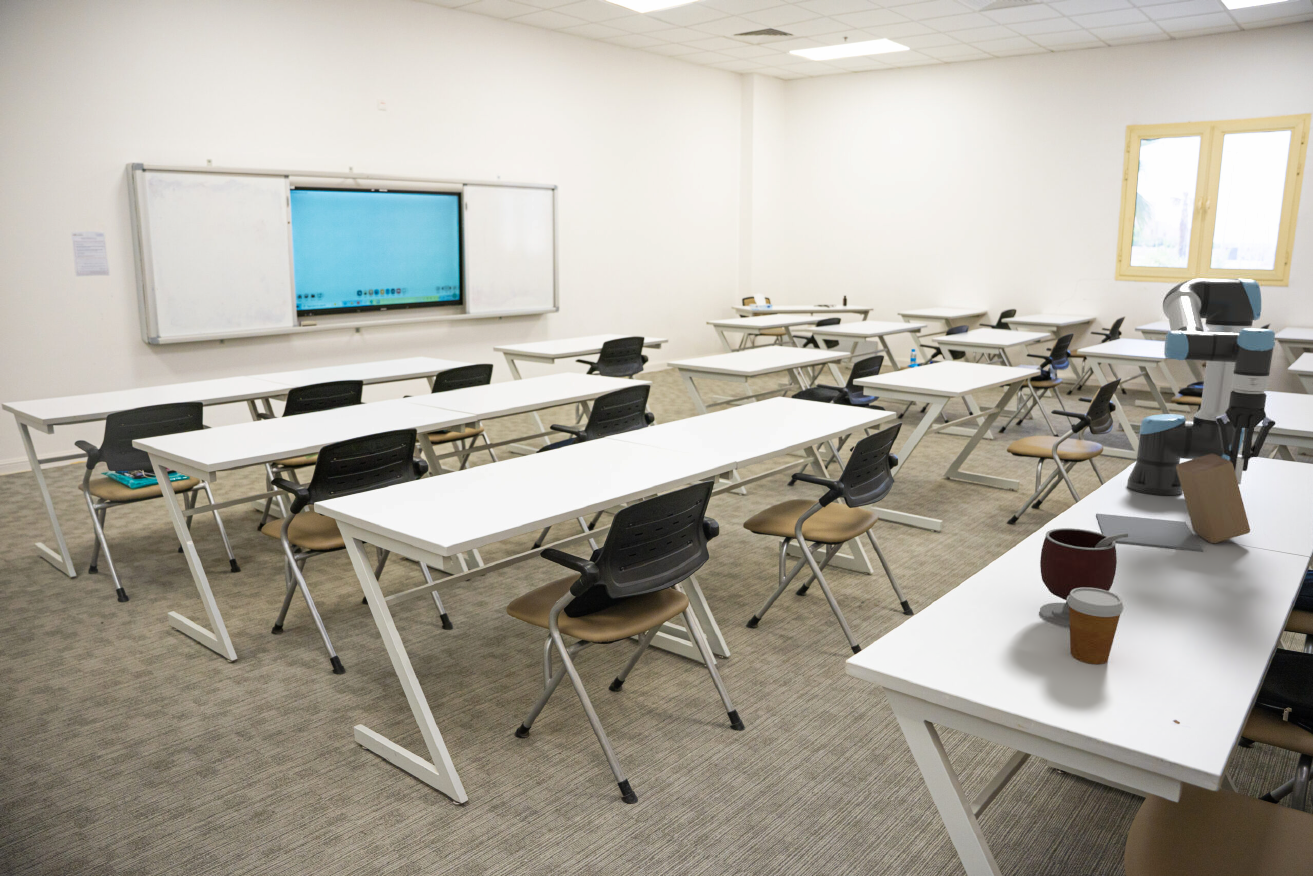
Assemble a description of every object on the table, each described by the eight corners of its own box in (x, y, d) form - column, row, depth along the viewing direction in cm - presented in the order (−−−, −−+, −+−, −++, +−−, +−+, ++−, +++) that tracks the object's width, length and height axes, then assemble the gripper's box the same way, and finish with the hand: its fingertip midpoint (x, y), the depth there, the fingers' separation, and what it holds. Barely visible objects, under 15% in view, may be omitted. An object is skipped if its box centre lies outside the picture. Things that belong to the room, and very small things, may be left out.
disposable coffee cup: (1051, 646, 169) (1057, 587, 167) (1099, 644, 170) (1105, 585, 167) (1078, 669, 160) (1085, 607, 157) (1129, 667, 161) (1136, 605, 158)
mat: (1096, 515, 250) (1096, 513, 250) (1185, 523, 242) (1185, 521, 242) (1104, 541, 228) (1105, 539, 228) (1203, 551, 221) (1203, 549, 220)
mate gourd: (1025, 618, 182) (1033, 525, 178) (1049, 598, 192) (1058, 510, 188) (1105, 640, 172) (1116, 542, 167) (1127, 618, 182) (1138, 525, 177)
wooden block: (1232, 521, 233) (1213, 451, 230) (1253, 533, 223) (1233, 460, 220) (1192, 533, 235) (1173, 463, 231) (1211, 545, 225) (1192, 473, 222)
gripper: (1222, 392, 219) (1209, 484, 224) (1284, 395, 215) (1270, 488, 220) (1215, 387, 226) (1203, 477, 231) (1275, 390, 222) (1261, 481, 227)
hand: (1235, 482), depth 226 cm, fingers closed
